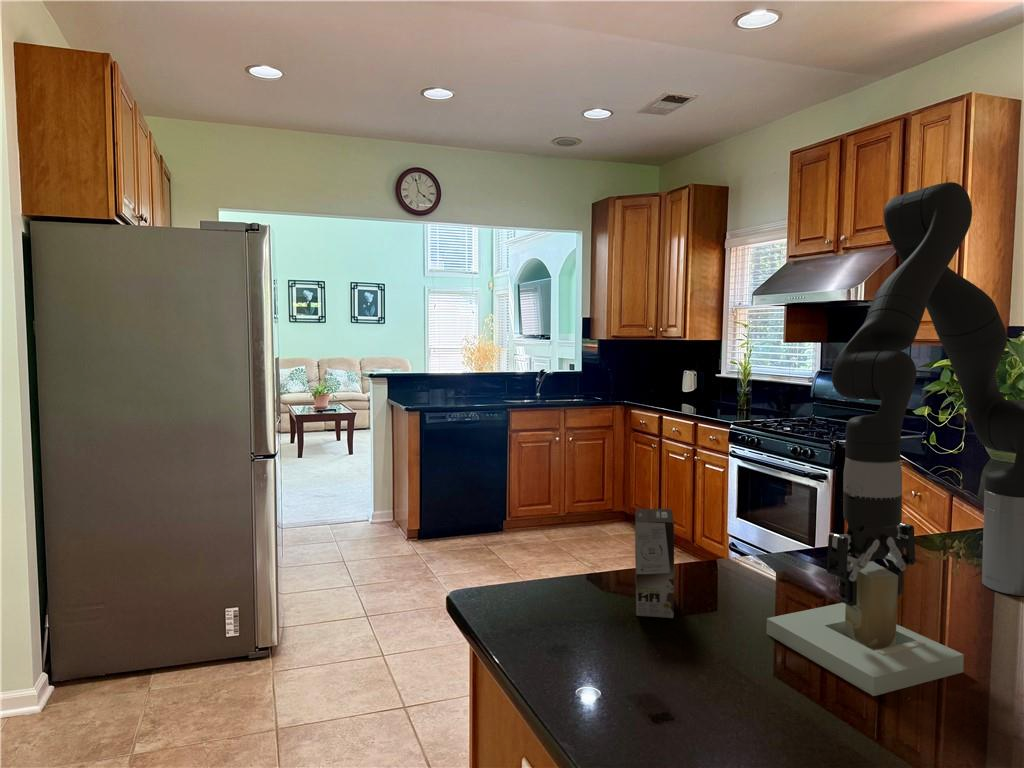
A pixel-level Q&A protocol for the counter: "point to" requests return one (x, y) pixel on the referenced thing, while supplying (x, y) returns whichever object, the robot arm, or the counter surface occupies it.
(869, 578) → the skincare box
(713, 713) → the counter surface
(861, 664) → the socket board
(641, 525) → the coffee box
